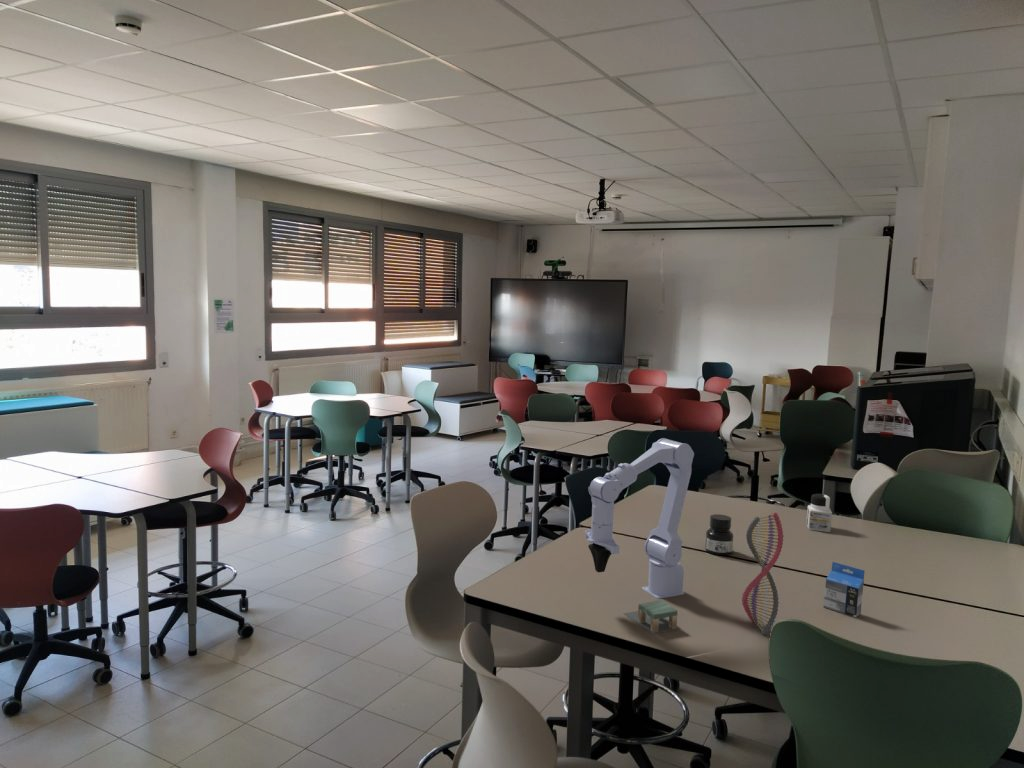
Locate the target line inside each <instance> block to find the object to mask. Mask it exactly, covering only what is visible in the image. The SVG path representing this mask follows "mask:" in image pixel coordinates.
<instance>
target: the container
mask: <svg viewBox="0 0 1024 768" xmlns="http://www.w3.org/2000/svg"><path fill="white" fill-rule="evenodd" d="M830 502H831V497H830V496H829V495H827V494H823V493H813V494H812V495H811V496H810V504H808V505H807V510H806V511H807V513H806V526H807V528H808V529H807V530H809V531H817V532H824V533H825V532H826V533H830V532H831V530H832V519H833V518H832V517H833V512H832V510H831V508H830V505H831V503H830Z"/></svg>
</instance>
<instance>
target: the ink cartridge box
mask: <svg viewBox="0 0 1024 768" xmlns="http://www.w3.org/2000/svg"><path fill="white" fill-rule="evenodd" d="M844 570H845V571H844ZM847 570H849V571H850V572H848V571H847ZM851 572H852V573H851ZM865 572H866V571H865V569H864V570H863V569H860V568H858V567H857V568H856V567H853V566H850V565H847V564H843V563H838V562H835V561H832V564H831V570H830V572H829V573H828V575H827V577H826V579H825V585H824V597H823V608H825V609H828V610H831V611H834V612H838V613H840V614H845V615H848V616H850V617H853V618H858V617H859V616H860V615H861V614H862V604H863V603H862V602H863V591H864V583H865ZM857 616H858V617H857Z"/></svg>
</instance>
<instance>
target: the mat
mask: <svg viewBox="0 0 1024 768" xmlns="http://www.w3.org/2000/svg"><path fill="white" fill-rule="evenodd" d="M623 615H624V616H625V617H627V618H628V619H630V620H631V621H633V622H634V623H636V624H637V625H638V626H640V627H641V628H643V629H644V630H645V631H647V633H649V634H651V635H655V634H656V635H657V634H660V633H666V632H671V631H676V630H681V629H682V628H681V627H679V626H678V625H677V628H675V629H671V628H670V627H669V618H667V617H666V618H663V619H661V620H659V629H658V632H652V631H651V630H650V629H651V617H650V616H649V615H647V614H646V619H645V623H640V622H638V610H635V611H630V612H624V613H623Z"/></svg>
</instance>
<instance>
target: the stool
mask: <svg viewBox="0 0 1024 768" xmlns="http://www.w3.org/2000/svg"><path fill="white" fill-rule="evenodd" d="M637 606H638V609H637V611H638V622H640V623H645V619H646V614H647V615H649V616H650V617H651V629H650V630H651V631H652V632H658V629H659V620H661V619H663V618H666V619H667V618H668V620H669V627H670V628H671V629H675V628H677V626H678V624H677V622H678V610H677V609H676V608H674V607H672V606H671V605H669V604H668V603H666V602H665V601H663V600H661V599H658V600H653V601H649V602H642V603H638V605H637Z"/></svg>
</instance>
